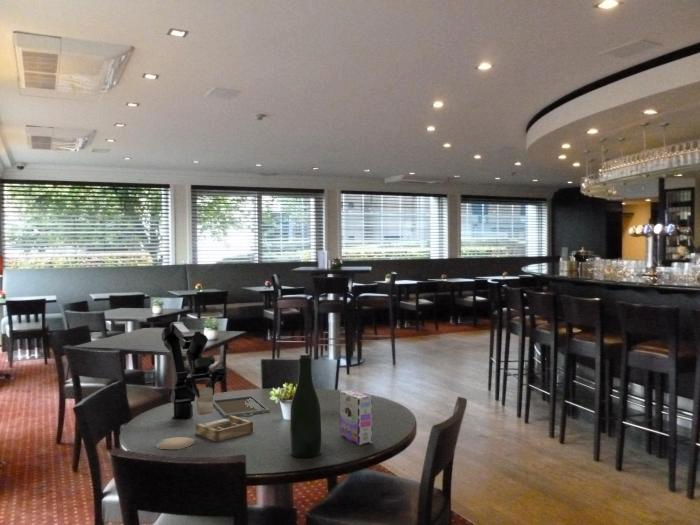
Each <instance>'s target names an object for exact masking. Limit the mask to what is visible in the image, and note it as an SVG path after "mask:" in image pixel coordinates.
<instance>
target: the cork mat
mask: <svg viewBox="0 0 700 525" xmlns="http://www.w3.org/2000/svg"><path fill="white" fill-rule="evenodd" d="M169 438H170V439H169ZM169 438H165V439H162V440H163V441H164V442H162V443H161V444H160V445H161V446H159V447H158V448H160V449H159V450H161V449H178V450H181V449H180V448H183V449H186V448H185V447H187V448H189V446H190V447H191V445H192V444H193V443H194V444H195V440H194V439H193V438H190V437H186V436H185V437H184V436H183V437H182V436H177V437H169ZM169 442H170V443H169ZM194 444H193V445H194ZM193 445H192V446H193ZM158 448H157V449H158Z"/></svg>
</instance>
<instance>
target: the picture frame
mask: <svg viewBox="0 0 700 525" xmlns="http://www.w3.org/2000/svg"><path fill="white" fill-rule="evenodd" d="M249 398H251V399H253V400H254V401H255V402H256V403H258V404H259V405H260V406H261V407H262V408H264V409H263V410H257V409H255V408H254V407H253V408H250V406H248V407H246V406H247V405H245V401H246V402H247V403H249V402H248V401H247V399H249ZM249 401H250V400H249ZM213 408H215V409H216V410H217V412H219V414H221V416H222V417H223V418H224V419H229V416H230V415H232V416H236V417H246V418H249V416H250V417H253V416H254V415H258V414H257V413H260V414H264V413H263V412H268V413H271V410H270V408H268V407H267V406H266V405H265V404H263V403H262V402H261V401H260V400H259V399H257V398H256V397H254V395H245V396H235V397H227V398H217V399H213ZM253 414H254V415H253Z"/></svg>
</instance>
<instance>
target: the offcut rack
mask: <svg viewBox="0 0 700 525" xmlns="http://www.w3.org/2000/svg"><path fill="white" fill-rule="evenodd" d="M253 432H254V422H253V421H251V420H247V419H244V418H242V417H240V416H232V415H230V416H229V417H228V418H224V419H218V420H214V421H211V422H206V423H200V422H198V423H195V434H196V433H197V434H196V435H199V436H201V435H202V436H201V437H204V438H207V439H208V440H211V441H214V442H216V443H217V442H220V441H225V440H228V439H231V438H235V437H239V436H243V435H247V434H250V433H253Z"/></svg>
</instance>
